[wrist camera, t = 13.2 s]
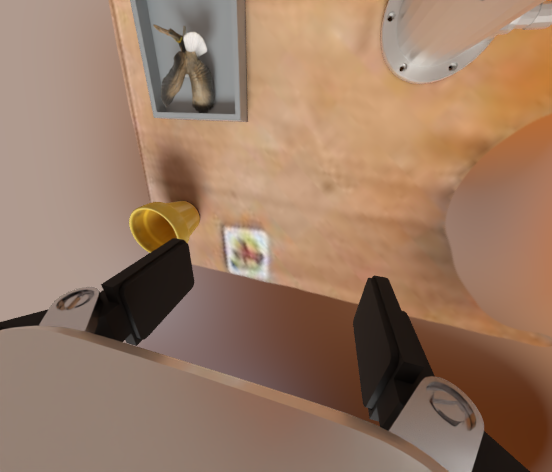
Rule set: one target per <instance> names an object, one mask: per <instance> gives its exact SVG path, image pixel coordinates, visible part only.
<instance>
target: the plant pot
mask: <svg viewBox="0 0 552 472" xmlns="http://www.w3.org/2000/svg"><path fill="white" fill-rule="evenodd" d="M199 222H200V217H199V213H198V211H197V209H196V208H195V207H194V206H193V205H192V204H190V203H189V202H186V201H177V202H170V203H162V202H153V203H149V204H146V205H143V206H141V207H139V208H137V209H135V210H134V211H133V212H132V214H131V216H130V219H129V225H130V229H131V232H132V234H133V236H134V238H135V240H136V241H137V242H138V243H139V244H140V245H141V247H142V248H144V249H145V250H146V251H147V252H149V253H151V252H152V251H154V250H155V249H157V248H159V247H160V246H162V245H163V244H165V243H166V242H168V241H169V240H171V239H173V238H177V239H182V240H185V241H186V243H188V241H189V236H190V235H191V234H192V232H193V231H194V230H195V229H196V227H197V226H198V224H199Z"/></svg>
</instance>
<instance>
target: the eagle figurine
mask: <svg viewBox="0 0 552 472" xmlns="http://www.w3.org/2000/svg"><path fill="white" fill-rule="evenodd" d="M153 26H154V28H155V29H157V30H158V31H159V32H161V33H164V34H166V35H168V36H171V37H172V38H173V39H174V40H175V41H176V42H177V43H179V47H180V49H181V51H178V52H177V53H176V55H175V56H174V58H173V59H174V65H173V66H172V68H171V69H170V71H169V73H168V74H167V75H166V77H164V78H163V81H162V85H161V87H162V88H161V99H162V102H163V104H165V106H166V107H167V106H169V105H170V103H172V101H173V99H174V97H175V95H176V94H177V93H178V92H179V91H180V89H181V87H182V84H183V81H184V78H185V77H189V78H190V82H191V88H192V106H193V108H195V110H196V111H198V112H199V113H205V112H206V113H208V109H209V110H211V107H213V105H214V95H213V89H212V82H211V80H212V75H211V72H210V70H209V68H208V67H207V65H205V64H204V63H203V62H201V60H200V59H198V57H199V56H201V55H203V54H204V53H206V52H207V47H206V44H205V42H204V39H203V38H202V37H201V36H200V34H198V33H196V32H189V33H186V27H185V26H183V36H182V35H180V34H178V33H176V32H175V31H174V30H172V29H171V28H170V29H169V30H167V29H164V28H161V27H160V26H157V25H154V24H153Z"/></svg>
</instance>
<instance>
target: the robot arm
mask: <svg viewBox="0 0 552 472" xmlns="http://www.w3.org/2000/svg"><path fill="white" fill-rule="evenodd" d="M388 18H391V19H392V21H391V22H389V21H388ZM551 24H552V1H546V0H389V1H388V4H387V6H386V9H385V12H384V16H383V21H382V25H381V36H380V38H381V50H382V54H383V58H384V60H385V62H386V64H387V66H388V68H389V69H390V70H391V71H392V73H393V74H394V75H395V76H397V77H398V78H400V79H401V80H403V81H406V82H409V83H414V84H426V83H433V82H436V81H439V80H442V79H444V78H447V77H449V76H451V75H453V74H455V73H456V72H458V71H460V70H461V69H463V68H464V67H466V66H467V65H468V64H470V63H471V62H472V61H473V60H475V59H476V58H477V57H478V56H479V55H480V54H481V53H482V52H483V51H484V50H485V49H486V48H487V46H488V45H489V44H490V42H491V41H492V40H493V39H494V37H495V36H496V35H500V34H507V33H509V32H510V31H511V30H512V29H521V28H522V29H523V30H531V29H545V28H547V27H549V26H550V25H551ZM449 66H450V67H451V70H450V71H449ZM400 67H403V71H400ZM101 285H102V287H103V289H104V290H103V291H102V292H99V290H98V289H97V288H94V287H86V288H79V289H76V290H73V291H71V292H68V293H66V294H64V295H62V296H61V297H59V298H58V299H57V300H55V301H54V303H53V304H52V305H51V307H50V308H49V309H48V310H45V311H41V312H37V313H33V314H30V315H26V316H22V317H18V318H14V319H11V320H7V321H3V322H0V472H530V471H528V469H526V468H525V467H524V466H523V465H522V464H521V463H520V462H518V461H517V460H516V459H515V458H514V457H513V456H512V455H510V454H509V453H508V452H507V451H506V450H505V449H504V448H503V447H502V446H500V445H499V444H498V443H497V442H496V441H495V440H494V439H492V438H491V437H490V436H489V435H488V434H487V433H486V432H485V431H484V423H483V420H482V417H481V414H480V413H479V411H478V410H477V408H476V406H475V405H474V403H473V402H472V401H471V400H470V399H469V398H468V396H467V395H466V394H465V393H463V392H462V391H461V390H460V389H459V388H458V387H456V386H455V385H453V384H452V383H450V382H449V381H446V380H444V379H442V378H439V377H435V376H434V374H433V372H432V369H431V367H430V365H429V363H428V360H427V358H426V356H425V353H424V351H423V349H422V347H421V344H420V342H419V340H418V337H417V335H416V333H415V330H414V328H413V326H412V324H411V321H410V319H409V317H408V315H407V313H406V312H404V311H401V308H400V306H399V303H398V301H397V299H396V296H395V294H394V291H393V289H392V286H391V284H390V282H389V279H388V278H385V277H379V276H373V277H372V278H368V280H367V282H366V285H365V288H364V291H363V294H362V297H361V300H360V302H359V305H358V308H357V311H356V314H355V317H354V321H353V327H354V334H355V343H356V351H357V359H358V367H359V375H360V383H361V392H362V399H363V404H364V406H365V407H367V408H368V410H369V416H370V417H369V418H370V419H372V420H376V421H379V423H380V427H379V426H377V425H375V424H372V423H370V422H367V421H365V420H362V419H359V418H356V417H354V416H352V415H349V414H346V413H343V412H340V411H337V410H334V409H332V408H329V407H326V406H323V405H319V404H317V403H314V402H311V401H308V400H305V399H302V398H299V397H296V396H292V395H289V394H286V393H283V392H280V391H277V390H274V389H271V388H267V387H264V386H261V385H258V384H255V383H252V382H249V381H245V380H242V379H239V378H236V377H233V376H230V375H226V374H223V373H220V372H217V371H214V370H211V369H207V368H204V367H201V366H198V365H194V364H191V363H188V362H185V361H182V360H179V359H175V358H172V357H169V356H166V355H163V354H159V353H156V352H152V351H149V350H146V349H143V348H140V347H136V346H137V345H138V344H139V343H140V342H141V341H142V340H143V339H145V338H147V337H148V336H149V335H150V334H151V333H152V331H153V330H154V329H155V328H156V327H157V326H158V325H159V324H160V323H161V322H162V320H163V319H164V318H165V317H166V316H167V315H168V314H169V313H170V312H171V311H172V309H173V308H174V307H175V306H176V305H177V304H178V303H179V302H180V301H181V300H182V299H183V297H184V296H185V295H186V294H187V293H188V292H189V291H190V290H191V289H192V287H193V285H194V277H193V271H192V264H191V258H190V252H189V246H188V244H187V243H186V241H185V240H182V239H177V238H173V239H171V240H169V241H168V242H166V243H165V244H163V245H162V246H160V247H159V248H157V249H155V250H154V251H152V252H151V253H149V254H148V255H146V256H145V257H143V258H141V259H140V260H138V261H137V262H135V263H134V264H132V265H131V266H129V267H128V268H126V269H124V270H123V271H121V272H120V273H118V274H117V275H115V276H114V277H112V278H110V279H109V280H107V281H106V282H104V283H103V284H101ZM124 340H126V342H127V343H129V344H127V343H123V341H124ZM130 344H132V345H130ZM133 345H135V346H133Z"/></svg>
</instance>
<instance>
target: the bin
mask: <svg viewBox="0 0 552 472" xmlns="http://www.w3.org/2000/svg"><path fill="white" fill-rule="evenodd" d="M130 2H131V7H132V12H133V17H134V22H135V26H136V31H137V36H138V41H139V46H140V51H141V56H142V61H143V66H144V71H145V76H146V81H147V86H148V90H149V95H150V100H151V105H152V110H153V115H154V118H163V119H184V120H211V121H239V122H248V119H247V67H246V15H245V0H130ZM153 24H154V25H157V26H160V27H161V28H164V29H167V30H169V29H170V28H171V29H172V30H174V31H175V32H176V33H178V34H180V35H182V36H183V26H185V27H186V33H189V32H196V33H198V34H200V36H201V37H202V38H203V39H204V42H205V44H206V47H207V52H206V53H204V54H203V55H201V56H199V57H198V59H200V60H201V62H203V63H204V64H205V65H207V67H208V68H209V70H210V72H211V75H212V80H211V82H212V89H213V95H214V105H213V107H211V110H209V109H208V113H206V112H205V113H199V112H198V111H196V110H195V108H193V106H192V88H191V82H190V78H189V77H185V78H184V81H183V84H182V87H181V89H180V91H179V92H178V93H177V94H176V95H175V97H174V99H173V101H172V103H170V105H169V106H167V107H166V106H165V104H163V102H162V99H161V88H162V87H161V85H162V81H163V78H164V77H166V75H167V74H168V73H169V71H170V69H171V68H172V66H173V65H174V59H173V58H174V56H175V55H176V53H177V52H178V51H181V49H180V47H179V43H177V42H176V41H175V40H174V39H173V38H172V37H171V36H168V35H166V34H164V33H161V32H159V31H158V30H157V29H155V28H154V26H153Z"/></svg>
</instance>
